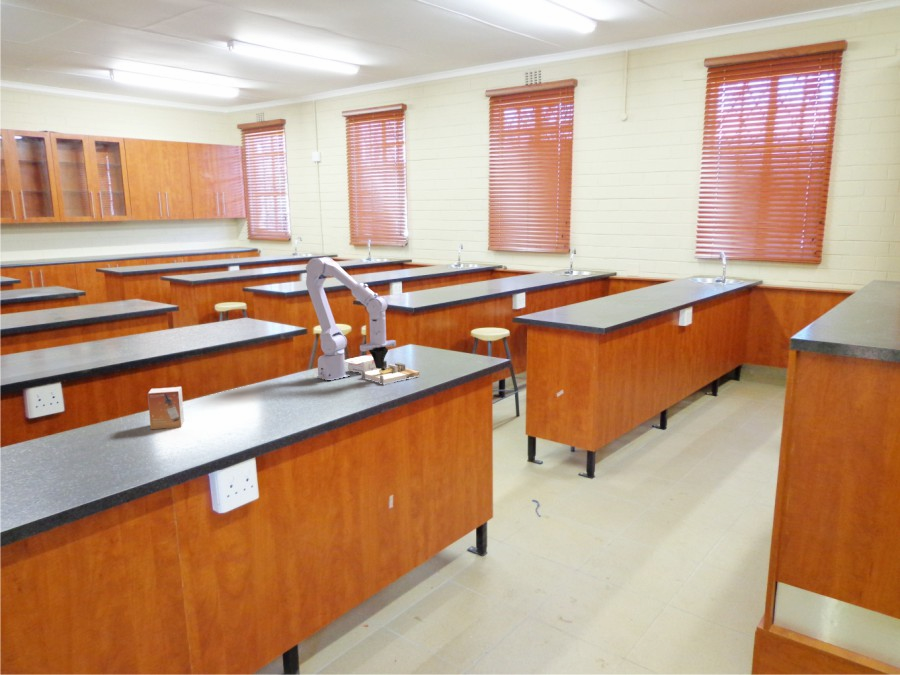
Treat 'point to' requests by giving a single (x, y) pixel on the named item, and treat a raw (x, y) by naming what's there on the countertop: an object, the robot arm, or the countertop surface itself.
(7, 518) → the countertop surface
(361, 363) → the ink cartridge box
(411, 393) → the countertop surface
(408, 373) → the door jamb
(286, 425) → the countertop surface
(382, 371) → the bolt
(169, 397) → the small box
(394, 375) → the door board
